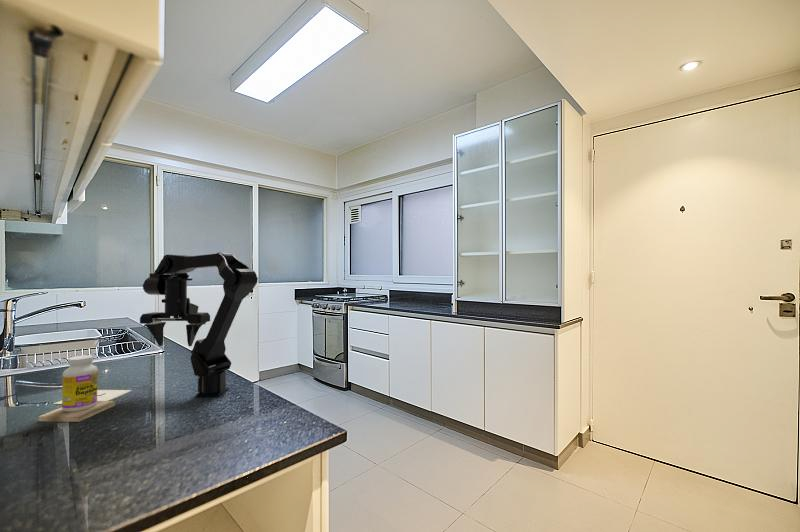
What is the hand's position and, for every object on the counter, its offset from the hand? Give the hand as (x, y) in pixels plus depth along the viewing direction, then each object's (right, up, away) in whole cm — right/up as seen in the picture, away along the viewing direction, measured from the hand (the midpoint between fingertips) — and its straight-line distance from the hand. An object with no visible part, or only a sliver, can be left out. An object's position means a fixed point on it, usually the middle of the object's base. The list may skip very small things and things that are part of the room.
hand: (175, 345), depth 108 cm
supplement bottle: (-13, -12, -18) cm, 25 cm away
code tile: (-18, -13, -8) cm, 24 cm away
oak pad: (-13, -13, -19) cm, 26 cm away
